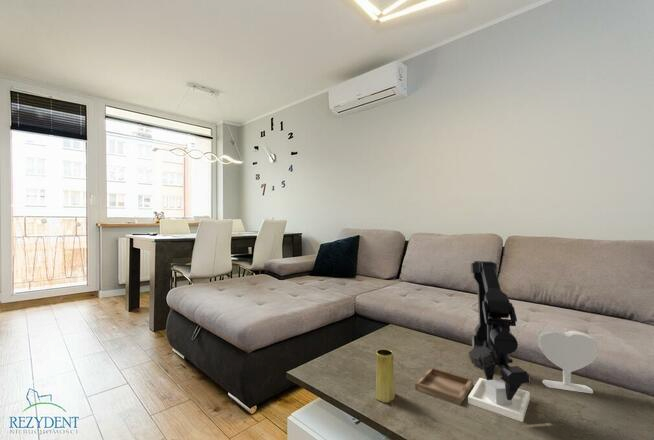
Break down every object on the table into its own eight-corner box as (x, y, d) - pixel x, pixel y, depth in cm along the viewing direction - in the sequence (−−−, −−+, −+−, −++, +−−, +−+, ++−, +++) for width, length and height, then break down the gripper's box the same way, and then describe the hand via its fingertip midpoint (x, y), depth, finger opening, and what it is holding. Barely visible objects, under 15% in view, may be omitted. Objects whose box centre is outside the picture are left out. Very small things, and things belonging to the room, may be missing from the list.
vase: (395, 403, 93) (394, 357, 93) (375, 401, 94) (374, 355, 94) (395, 392, 99) (394, 348, 99) (376, 391, 100) (375, 347, 100)
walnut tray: (431, 373, 111) (431, 366, 111) (473, 386, 102) (472, 379, 102) (415, 391, 100) (415, 383, 100) (460, 407, 91) (460, 398, 91)
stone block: (486, 396, 95) (485, 380, 95) (501, 395, 96) (500, 379, 96) (496, 406, 90) (496, 389, 90) (512, 404, 91) (512, 387, 91)
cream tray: (479, 385, 103) (479, 377, 103) (529, 400, 94) (529, 392, 94) (468, 405, 92) (467, 396, 92) (522, 424, 83) (522, 415, 83)
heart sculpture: (592, 386, 101) (591, 331, 101) (600, 394, 96) (599, 337, 96) (537, 378, 106) (536, 326, 106) (541, 386, 101) (540, 331, 101)
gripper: (456, 330, 101) (457, 377, 101) (492, 354, 83) (493, 412, 83) (488, 328, 102) (489, 374, 102) (530, 352, 84) (531, 409, 84)
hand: (498, 391), depth 93 cm, fingers open, 9 cm apart
